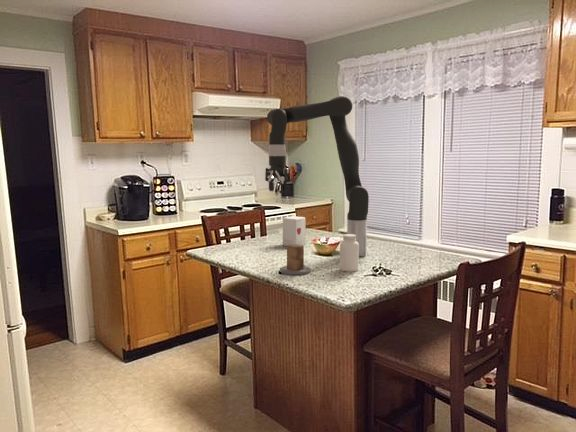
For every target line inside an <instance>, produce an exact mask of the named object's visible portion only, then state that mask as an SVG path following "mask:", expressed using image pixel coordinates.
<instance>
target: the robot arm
mask: <svg viewBox="0 0 576 432" xmlns="http://www.w3.org/2000/svg"><path fill="white" fill-rule="evenodd" d="M352 109H353V102H352V99H350V98H349V97H348V96H345V95H339V96H336V97H334V98H333V97H332V98H331V99H330V100H327V101H322V102H315V103H307V104H306V103H305V104H300V105H294V106H291V107H287V108H276V109H275V108H274V109H271V110H270V111H269V112H268V113H267V115H266V121H267V122H268V124H269V125H271V131H270V132H269V136H268V142H269V144H268V146H269V147H268V165H269V166H270V167H269V166H268V167H265V174H264V175H265V178H264V180H265V182H267V183H268V191H269V192H274V191H275V190H274V189H275V186H274V185H275V180H276V179H279V180H280V182H281V192H282V193H286V192H287V190H288V183H291V170H290V168H285V166H286V165H287V156H286V155H287V153H286V151H287V150H286V131H287V124H290V123H299V122H300V123H301V122H305V121H309V120H313V119H314V120H315V119H318V118H321V117H327V116H329V119H330V124H331V126H332V130H333V134H334V139H335V144H336V149H337V154H338V155H337V156H338V159H339V163H340V167H341V170H342V174H343V179H344V186H345V196H346V199H347V201H348V202H349V203H348V212H347V218H346V221H347V222H346V223H347V224H346V225H347V227H346V234H354V235H356V240H355V241H357V242H358V243H359V257H366V256H367V247H368V246H367V245H368V244H367V243H368V242H367V241H368V239H367V238H368V237H367V236H368V235H367V234H368V233H367V224H368V223H367V222H368V220H367V218H368V213H369V202H370V200H369V192H368V190H367V189H366V188H365V187H364V186H362V182H361V179H360V171H359V168H360V155H359V150H358V146H357V145H358V144H357V142H356V140H355V138H354V136H353V134H352V133H351V131H350V129H349V126H348V124H347V118H346V117H347V116H348V115H350V113H351V111H352Z"/></svg>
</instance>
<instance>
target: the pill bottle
mask: <svg viewBox="0 0 576 432" xmlns="http://www.w3.org/2000/svg"><path fill="white" fill-rule="evenodd" d="M342 239H343V240H342V241H341V242H340V243H339V270H340V271H343V272H347V273H349V272H350V273H351V272H352V273H353V272H357V271H359V264H360V263H359V261H360V260H359V259H360V256H359V243H358V242H357V241H355V240H356V235H354V234H347V233H346V234H343V236H342Z"/></svg>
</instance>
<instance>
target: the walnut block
mask: <svg viewBox="0 0 576 432" xmlns="http://www.w3.org/2000/svg"><path fill="white" fill-rule="evenodd" d="M304 246H305V245H298V244H293V245H288V246H286V266H287V269H289V270H293V271H298V270H302V269H304V266H305V260H304V258H305V256H304V255H305V253H304V252H305V247H304Z"/></svg>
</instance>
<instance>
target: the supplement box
mask: <svg viewBox="0 0 576 432" xmlns="http://www.w3.org/2000/svg"><path fill="white" fill-rule="evenodd" d="M293 244H298V245H303V246H305V245H306V217H305V216H296V215H295V216H294V215H291V216H284V217H282V246H283V247H284V246H285V247H287V246H288V245H293Z"/></svg>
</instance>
